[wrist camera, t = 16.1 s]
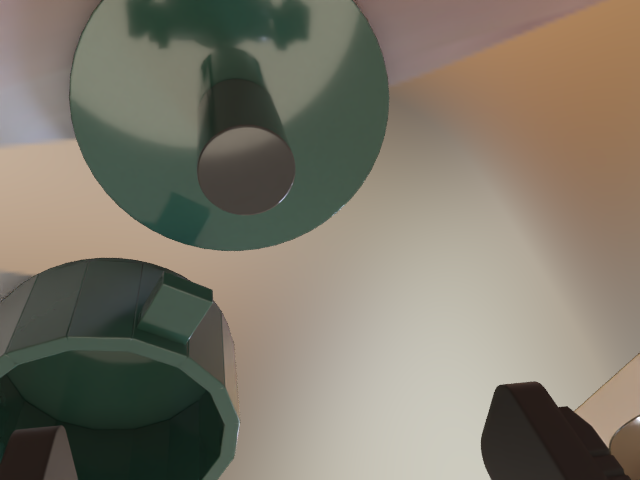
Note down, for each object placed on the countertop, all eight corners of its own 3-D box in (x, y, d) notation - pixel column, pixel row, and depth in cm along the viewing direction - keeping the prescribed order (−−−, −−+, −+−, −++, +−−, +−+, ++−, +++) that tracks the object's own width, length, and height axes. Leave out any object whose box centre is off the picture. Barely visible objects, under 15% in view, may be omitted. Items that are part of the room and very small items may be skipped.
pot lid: (25, 166, 26) (-26, 246, 20) (160, -143, 21) (145, -157, 15) (286, 277, 32) (306, 365, 26) (440, 56, 27) (508, 102, 21)
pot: (-60, 430, 33) (-109, 532, 28) (61, 173, 27) (27, 242, 21) (154, 479, 39) (146, 572, 33) (297, 275, 32) (317, 351, 27)
